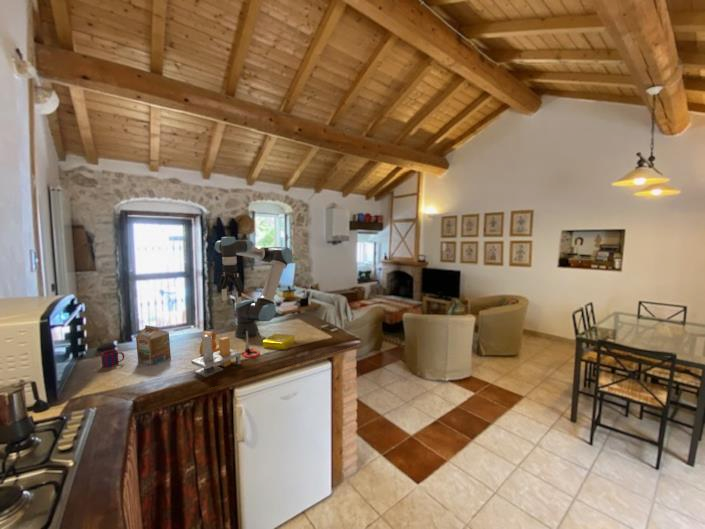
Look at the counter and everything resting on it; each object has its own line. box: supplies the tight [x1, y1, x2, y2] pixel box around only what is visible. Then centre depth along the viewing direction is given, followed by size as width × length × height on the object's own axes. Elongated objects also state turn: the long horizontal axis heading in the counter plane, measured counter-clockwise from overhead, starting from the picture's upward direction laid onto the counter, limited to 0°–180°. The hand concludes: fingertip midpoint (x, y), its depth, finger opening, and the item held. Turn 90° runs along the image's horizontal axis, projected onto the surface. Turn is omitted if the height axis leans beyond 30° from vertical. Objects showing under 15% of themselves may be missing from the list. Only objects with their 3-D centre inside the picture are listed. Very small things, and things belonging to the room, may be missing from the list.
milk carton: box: [135, 324, 172, 367], centre depth 161 cm, size 11×11×19 cm
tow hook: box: [241, 331, 260, 359], centre depth 167 cm, size 8×13×9 cm
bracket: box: [199, 330, 220, 355], centre depth 172 cm, size 11×7×12 cm, turn 164°
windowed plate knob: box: [191, 334, 242, 378], centre depth 150 cm, size 19×12×18 cm, turn 146°
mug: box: [100, 349, 125, 369], centre depth 157 cm, size 7×10×7 cm
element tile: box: [262, 333, 296, 350], centre depth 183 cm, size 15×15×5 cm
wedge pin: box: [218, 336, 232, 368], centre depth 154 cm, size 4×4×14 cm
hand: (231, 301), depth 172 cm, fingers open, 13 cm apart
